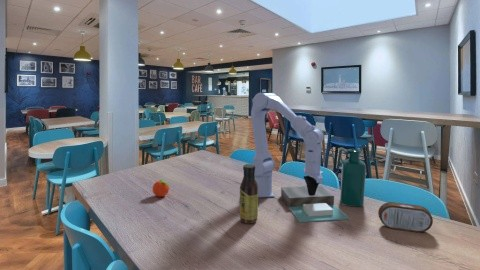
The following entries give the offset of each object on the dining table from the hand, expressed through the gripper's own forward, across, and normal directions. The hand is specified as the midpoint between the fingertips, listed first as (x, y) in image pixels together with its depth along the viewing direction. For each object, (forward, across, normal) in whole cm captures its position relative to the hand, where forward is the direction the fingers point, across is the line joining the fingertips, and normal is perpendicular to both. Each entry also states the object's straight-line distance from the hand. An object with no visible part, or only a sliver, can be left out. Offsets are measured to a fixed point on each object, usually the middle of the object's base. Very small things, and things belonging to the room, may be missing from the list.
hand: (311, 194), depth 104 cm
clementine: (+5, +18, +60) cm, 63 cm away
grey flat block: (+5, +6, 0) cm, 7 cm away
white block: (+2, -6, 0) cm, 7 cm away
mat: (+5, -6, 0) cm, 8 cm away
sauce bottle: (+5, -9, +26) cm, 28 cm away
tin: (+5, -21, -23) cm, 31 cm away
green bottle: (+5, +2, -17) cm, 18 cm away
